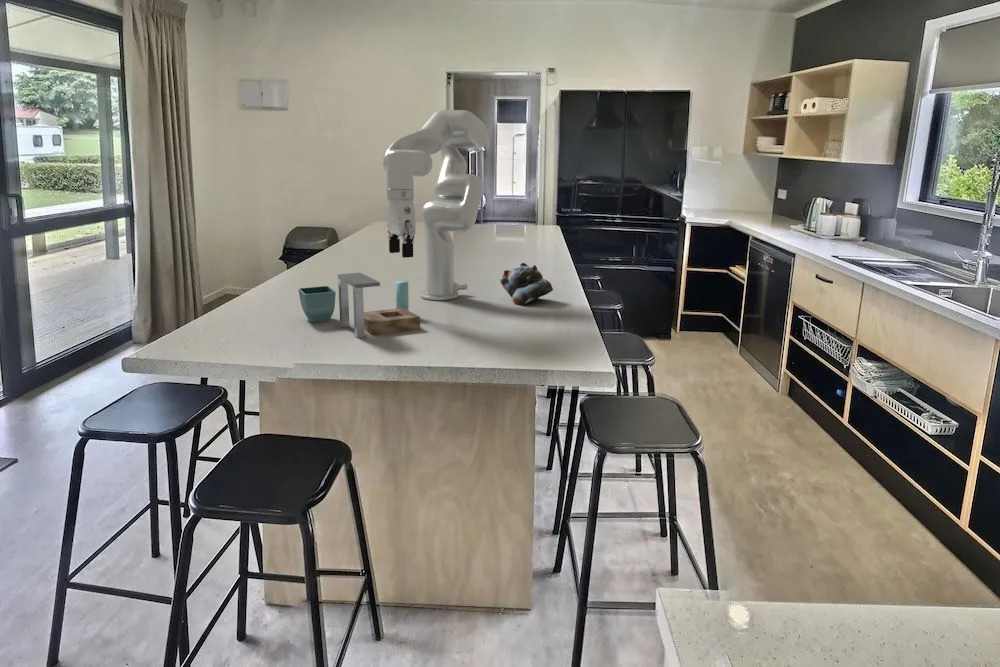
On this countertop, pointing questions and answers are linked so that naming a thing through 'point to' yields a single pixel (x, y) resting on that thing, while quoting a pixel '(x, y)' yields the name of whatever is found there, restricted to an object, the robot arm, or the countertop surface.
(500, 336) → the countertop surface
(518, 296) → the lucky cat figurine
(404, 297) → the peg
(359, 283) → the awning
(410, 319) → the socket
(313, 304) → the flower pot
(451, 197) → the robot arm
